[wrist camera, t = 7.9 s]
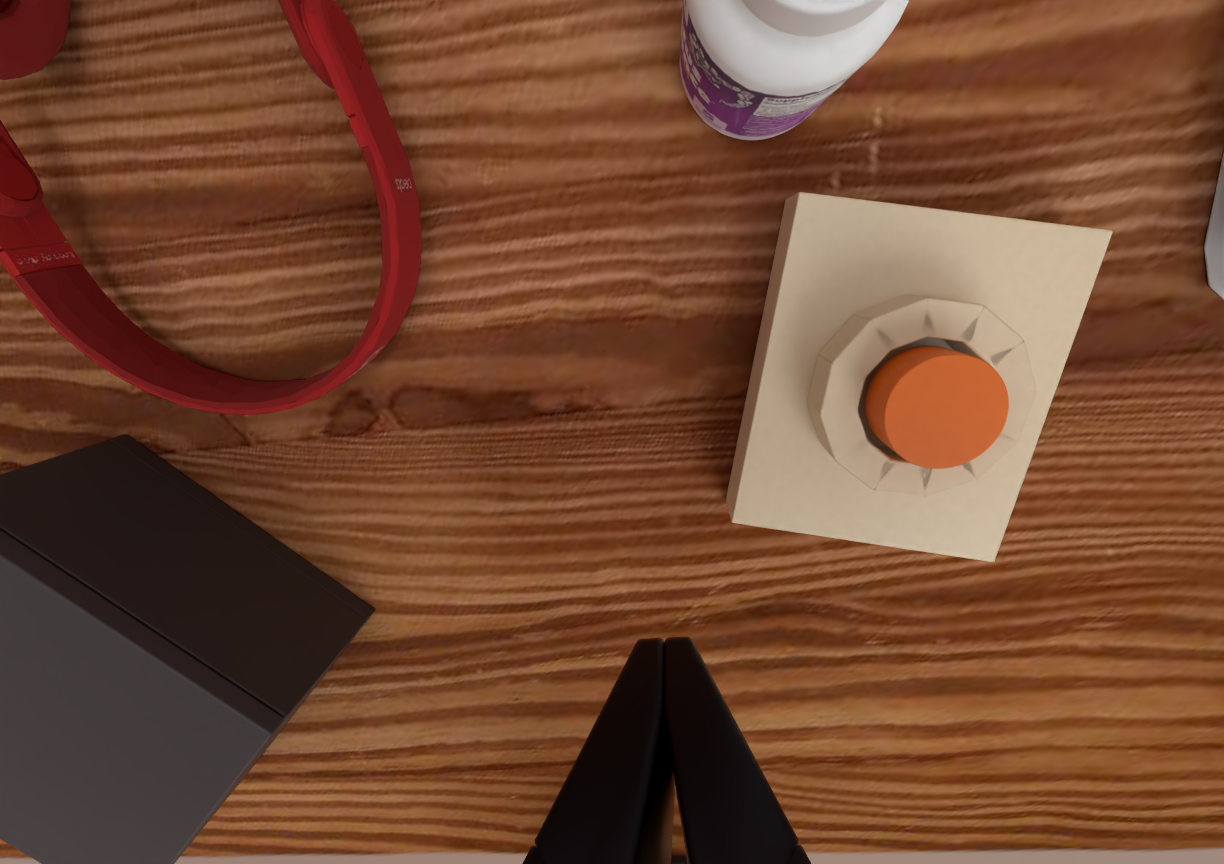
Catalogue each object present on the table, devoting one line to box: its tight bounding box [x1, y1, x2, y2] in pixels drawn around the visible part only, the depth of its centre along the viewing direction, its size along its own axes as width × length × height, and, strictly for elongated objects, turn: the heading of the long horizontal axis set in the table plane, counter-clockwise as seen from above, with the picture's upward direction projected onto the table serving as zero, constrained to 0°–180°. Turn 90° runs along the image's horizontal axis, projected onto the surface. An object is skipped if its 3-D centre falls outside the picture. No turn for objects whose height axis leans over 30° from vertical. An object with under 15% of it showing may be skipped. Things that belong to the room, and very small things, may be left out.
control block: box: [726, 192, 1112, 562], centre depth 21 cm, size 12×10×4 cm
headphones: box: [0, 0, 422, 415], centre depth 20 cm, size 15×7×20 cm
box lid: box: [0, 530, 284, 864], centre depth 21 cm, size 14×13×1 cm
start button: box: [865, 346, 1009, 469], centre depth 18 cm, size 4×4×2 cm
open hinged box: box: [0, 434, 375, 864], centre depth 25 cm, size 14×13×7 cm
